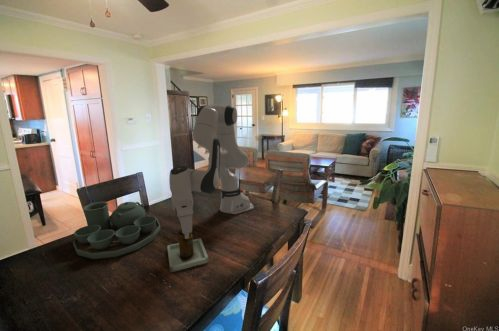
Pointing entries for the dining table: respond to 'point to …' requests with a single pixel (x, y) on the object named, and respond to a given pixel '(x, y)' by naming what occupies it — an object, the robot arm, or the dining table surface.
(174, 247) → the tray
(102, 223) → the tea set
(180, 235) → the condiment
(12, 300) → the dining table surface
